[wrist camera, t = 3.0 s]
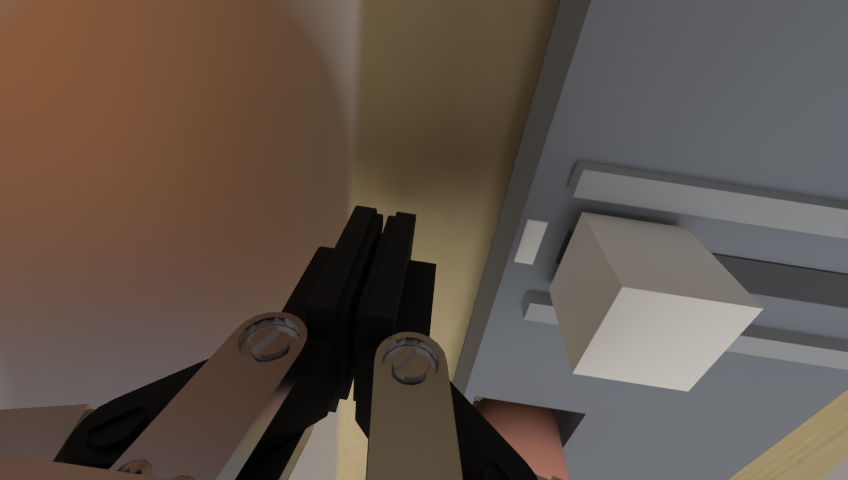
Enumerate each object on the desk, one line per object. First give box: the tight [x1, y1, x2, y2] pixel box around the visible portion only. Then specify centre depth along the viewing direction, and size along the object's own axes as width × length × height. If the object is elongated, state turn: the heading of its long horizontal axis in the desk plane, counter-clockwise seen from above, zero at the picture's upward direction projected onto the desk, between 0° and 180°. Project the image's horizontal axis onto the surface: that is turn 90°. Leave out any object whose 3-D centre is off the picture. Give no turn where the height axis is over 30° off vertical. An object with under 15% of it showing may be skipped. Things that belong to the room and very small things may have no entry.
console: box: [453, 0, 848, 480], centre depth 14 cm, size 24×14×4 cm, turn 173°
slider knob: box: [549, 212, 763, 392], centre depth 10 cm, size 3×3×3 cm
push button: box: [475, 398, 569, 480], centre depth 17 cm, size 4×4×4 cm
